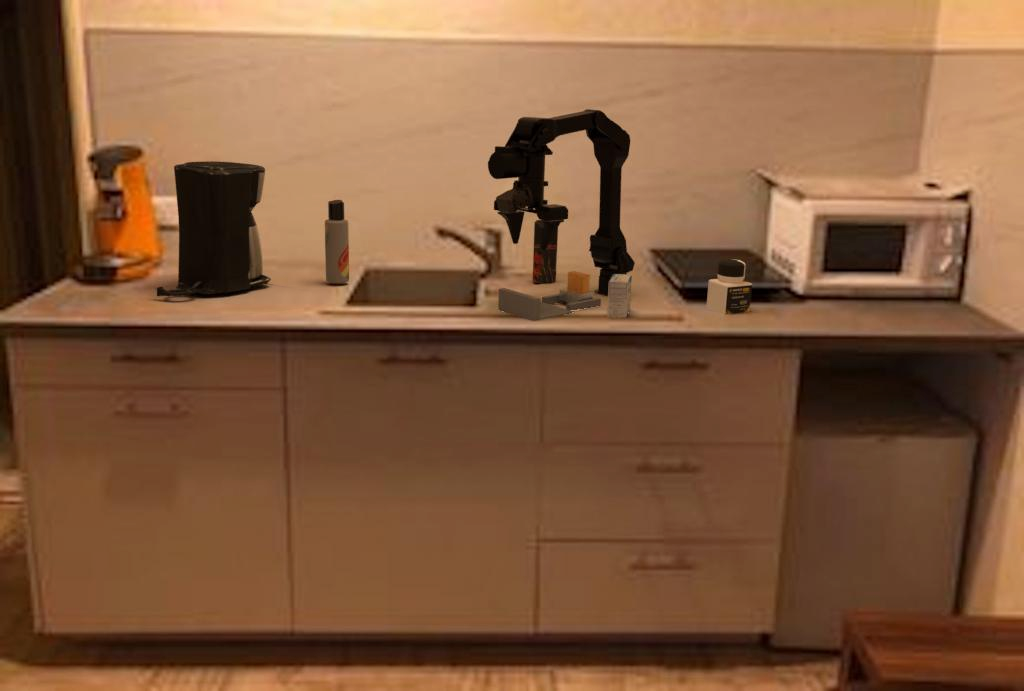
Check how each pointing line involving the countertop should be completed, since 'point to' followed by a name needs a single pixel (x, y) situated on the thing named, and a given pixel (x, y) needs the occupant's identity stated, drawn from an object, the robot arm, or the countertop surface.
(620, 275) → the medicine box
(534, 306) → the press bed
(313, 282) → the countertop surface
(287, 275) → the countertop surface
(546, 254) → the deodorant
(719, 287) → the medicine bottle
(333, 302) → the countertop surface
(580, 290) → the ram
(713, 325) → the countertop surface
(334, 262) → the lotion bottle
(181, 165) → the coffee maker
